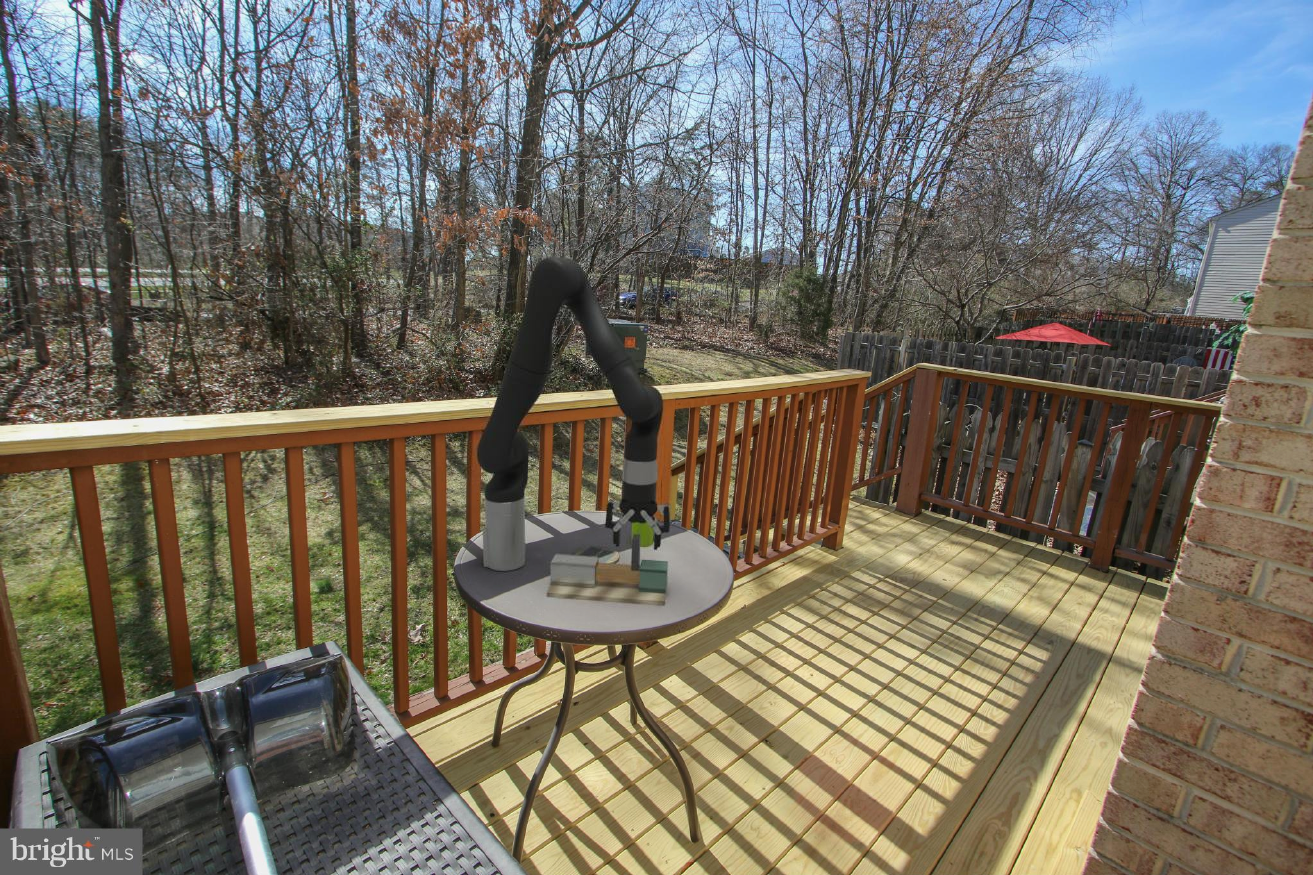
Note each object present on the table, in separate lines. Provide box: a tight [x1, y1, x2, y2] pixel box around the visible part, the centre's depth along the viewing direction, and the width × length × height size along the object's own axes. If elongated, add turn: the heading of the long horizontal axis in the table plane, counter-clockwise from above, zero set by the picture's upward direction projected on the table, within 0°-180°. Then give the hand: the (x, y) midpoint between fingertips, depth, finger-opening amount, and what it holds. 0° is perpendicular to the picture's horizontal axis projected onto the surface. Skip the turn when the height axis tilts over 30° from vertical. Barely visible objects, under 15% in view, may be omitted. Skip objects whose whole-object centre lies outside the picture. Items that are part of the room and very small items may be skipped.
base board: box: [546, 576, 669, 606], centre depth 140 cm, size 26×12×1 cm, turn 86°
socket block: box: [639, 559, 669, 594], centre depth 138 cm, size 6×5×6 cm
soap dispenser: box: [630, 522, 654, 548], centre depth 163 cm, size 6×7×20 cm
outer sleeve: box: [550, 553, 600, 588], centre depth 139 cm, size 10×5×6 cm, turn 85°
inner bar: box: [595, 534, 641, 583], centre depth 138 cm, size 18×3×10 cm, turn 86°
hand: (636, 547), depth 137 cm, fingers open, 8 cm apart
